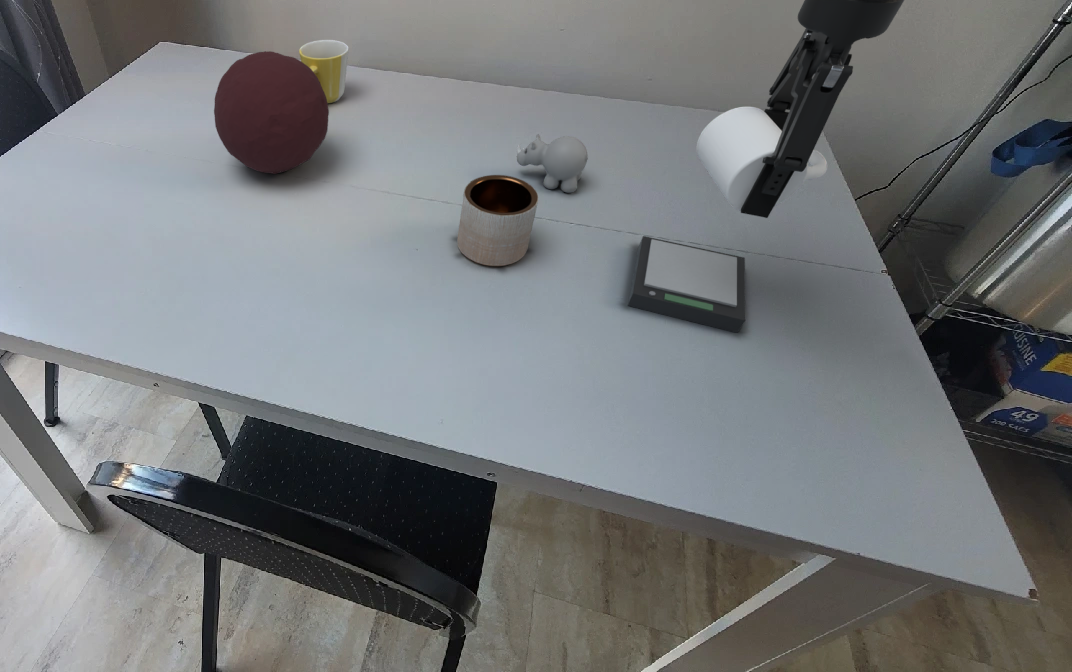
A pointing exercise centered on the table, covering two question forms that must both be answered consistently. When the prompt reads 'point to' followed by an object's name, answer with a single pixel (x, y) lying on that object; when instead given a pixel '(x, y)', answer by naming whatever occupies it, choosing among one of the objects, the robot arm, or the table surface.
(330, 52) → the mug
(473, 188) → the planter
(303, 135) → the decorative sphere
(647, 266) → the scale
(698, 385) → the table surface
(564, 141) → the chubby cartoon animal
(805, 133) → the robot arm
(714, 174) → the mug
